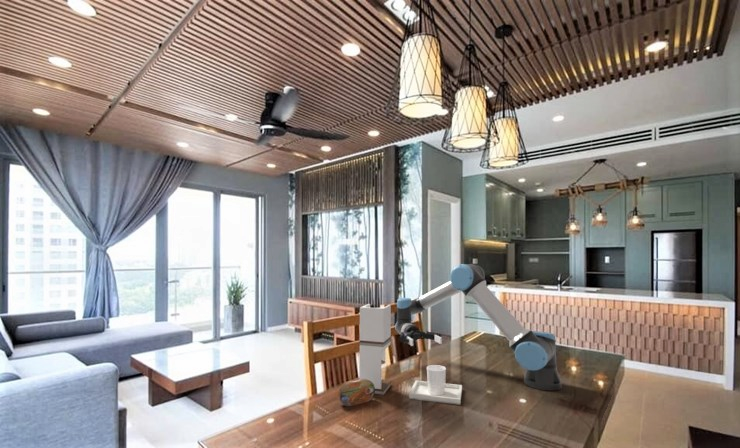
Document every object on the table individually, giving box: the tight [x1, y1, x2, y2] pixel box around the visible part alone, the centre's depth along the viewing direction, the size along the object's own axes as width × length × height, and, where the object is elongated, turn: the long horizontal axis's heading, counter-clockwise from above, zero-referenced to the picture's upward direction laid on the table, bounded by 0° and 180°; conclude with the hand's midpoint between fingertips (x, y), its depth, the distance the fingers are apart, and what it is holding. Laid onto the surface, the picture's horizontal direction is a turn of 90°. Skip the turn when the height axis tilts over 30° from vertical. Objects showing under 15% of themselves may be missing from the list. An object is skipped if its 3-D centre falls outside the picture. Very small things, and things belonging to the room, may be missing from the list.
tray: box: [408, 379, 463, 406], centre depth 151 cm, size 20×16×2 cm
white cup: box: [426, 364, 447, 395], centre depth 151 cm, size 8×8×10 cm
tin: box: [337, 379, 375, 407], centre depth 142 cm, size 15×3×8 cm, turn 118°
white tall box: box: [358, 303, 392, 396], centre depth 158 cm, size 11×11×35 cm
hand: (426, 341), depth 162 cm, fingers open, 13 cm apart
